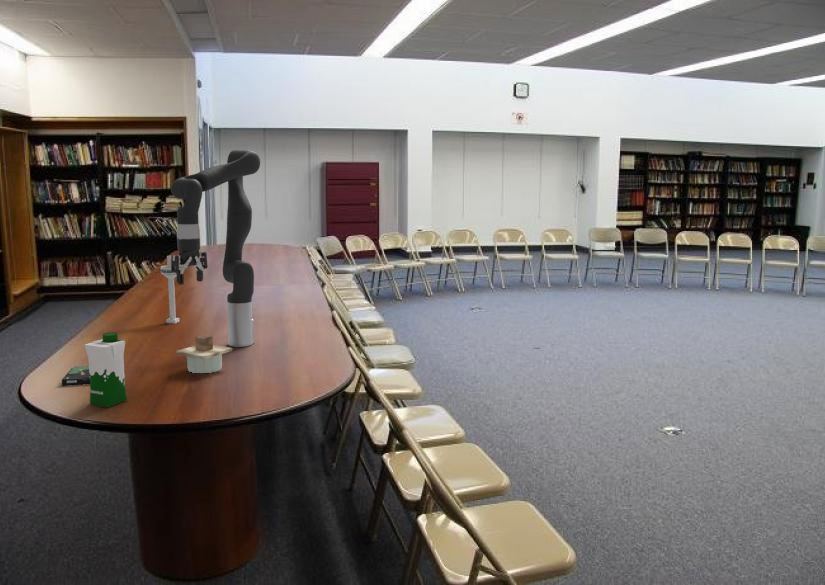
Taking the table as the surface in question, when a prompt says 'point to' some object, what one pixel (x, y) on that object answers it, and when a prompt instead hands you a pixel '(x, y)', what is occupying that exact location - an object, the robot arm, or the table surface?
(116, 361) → the milk carton
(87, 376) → the disk drive
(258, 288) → the table surface
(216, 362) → the green bowl
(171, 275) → the model tower
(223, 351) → the birch lid
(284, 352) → the table surface
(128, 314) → the table surface
